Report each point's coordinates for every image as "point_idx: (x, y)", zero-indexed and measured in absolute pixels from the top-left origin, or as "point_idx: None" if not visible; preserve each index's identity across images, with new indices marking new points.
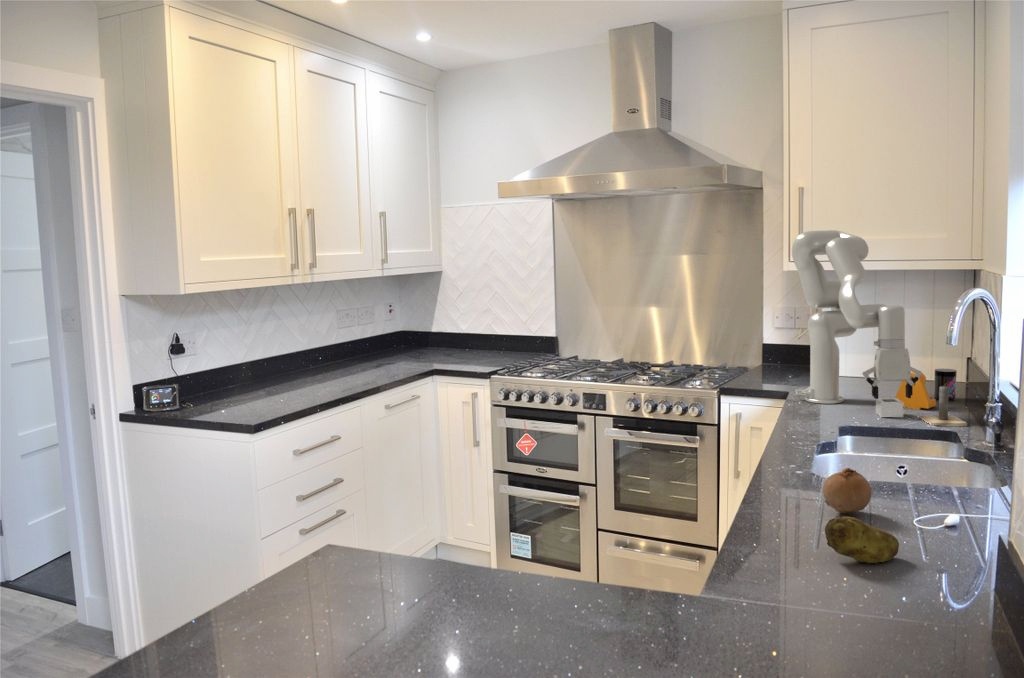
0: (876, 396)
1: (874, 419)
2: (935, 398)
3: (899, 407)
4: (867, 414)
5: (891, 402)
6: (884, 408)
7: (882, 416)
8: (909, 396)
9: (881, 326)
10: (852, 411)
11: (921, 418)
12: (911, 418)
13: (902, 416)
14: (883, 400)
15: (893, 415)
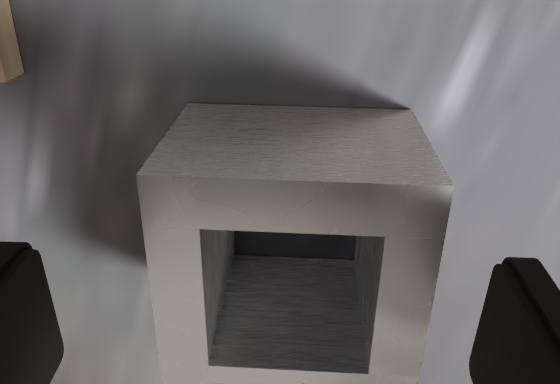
0: (544, 277)
1: (514, 41)
2: None
3: (206, 146)
4: (476, 264)
5: (306, 186)
6: (394, 149)
7: (401, 115)
8: (9, 252)
9: None
10: None
11: (8, 30)
12: (107, 90)
13: (191, 107)
14: (339, 359)
15: (284, 116)
